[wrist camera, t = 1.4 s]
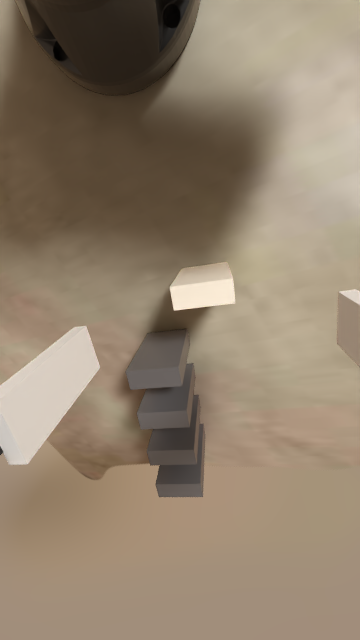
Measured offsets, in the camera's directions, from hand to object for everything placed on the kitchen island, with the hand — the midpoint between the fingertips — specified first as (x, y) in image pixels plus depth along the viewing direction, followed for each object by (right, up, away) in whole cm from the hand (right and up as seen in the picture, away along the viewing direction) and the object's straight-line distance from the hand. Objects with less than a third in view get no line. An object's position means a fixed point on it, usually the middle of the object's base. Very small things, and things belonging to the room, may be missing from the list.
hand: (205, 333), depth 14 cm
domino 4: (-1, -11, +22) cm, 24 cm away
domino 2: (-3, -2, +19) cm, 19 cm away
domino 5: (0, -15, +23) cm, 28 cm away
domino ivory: (+2, +6, +15) cm, 17 cm away
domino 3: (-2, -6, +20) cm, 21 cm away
